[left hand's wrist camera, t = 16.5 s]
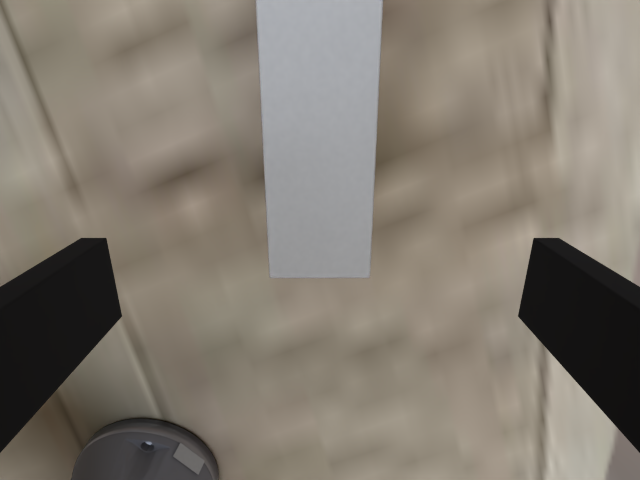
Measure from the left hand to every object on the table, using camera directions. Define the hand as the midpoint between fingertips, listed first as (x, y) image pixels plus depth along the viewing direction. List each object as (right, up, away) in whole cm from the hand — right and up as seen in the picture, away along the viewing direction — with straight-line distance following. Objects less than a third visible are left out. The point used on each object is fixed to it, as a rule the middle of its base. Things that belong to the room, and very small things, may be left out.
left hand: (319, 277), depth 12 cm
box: (0, +15, +18) cm, 23 cm away
